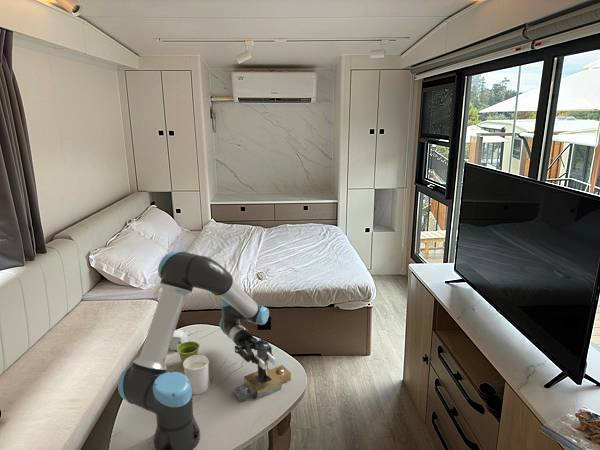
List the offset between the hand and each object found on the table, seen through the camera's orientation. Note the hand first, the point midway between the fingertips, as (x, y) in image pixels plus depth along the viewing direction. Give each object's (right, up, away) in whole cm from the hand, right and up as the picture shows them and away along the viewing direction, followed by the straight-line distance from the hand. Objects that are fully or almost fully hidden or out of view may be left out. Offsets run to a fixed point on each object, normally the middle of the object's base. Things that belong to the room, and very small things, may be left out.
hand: (269, 364), depth 161 cm
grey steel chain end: (-6, -12, +6) cm, 15 cm away
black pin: (-3, -6, +7) cm, 10 cm away
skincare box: (-45, -4, +35) cm, 57 cm away
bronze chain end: (-1, -11, +9) cm, 14 cm away
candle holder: (-29, -12, +7) cm, 32 cm away
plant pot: (-37, -8, +22) cm, 43 cm away
